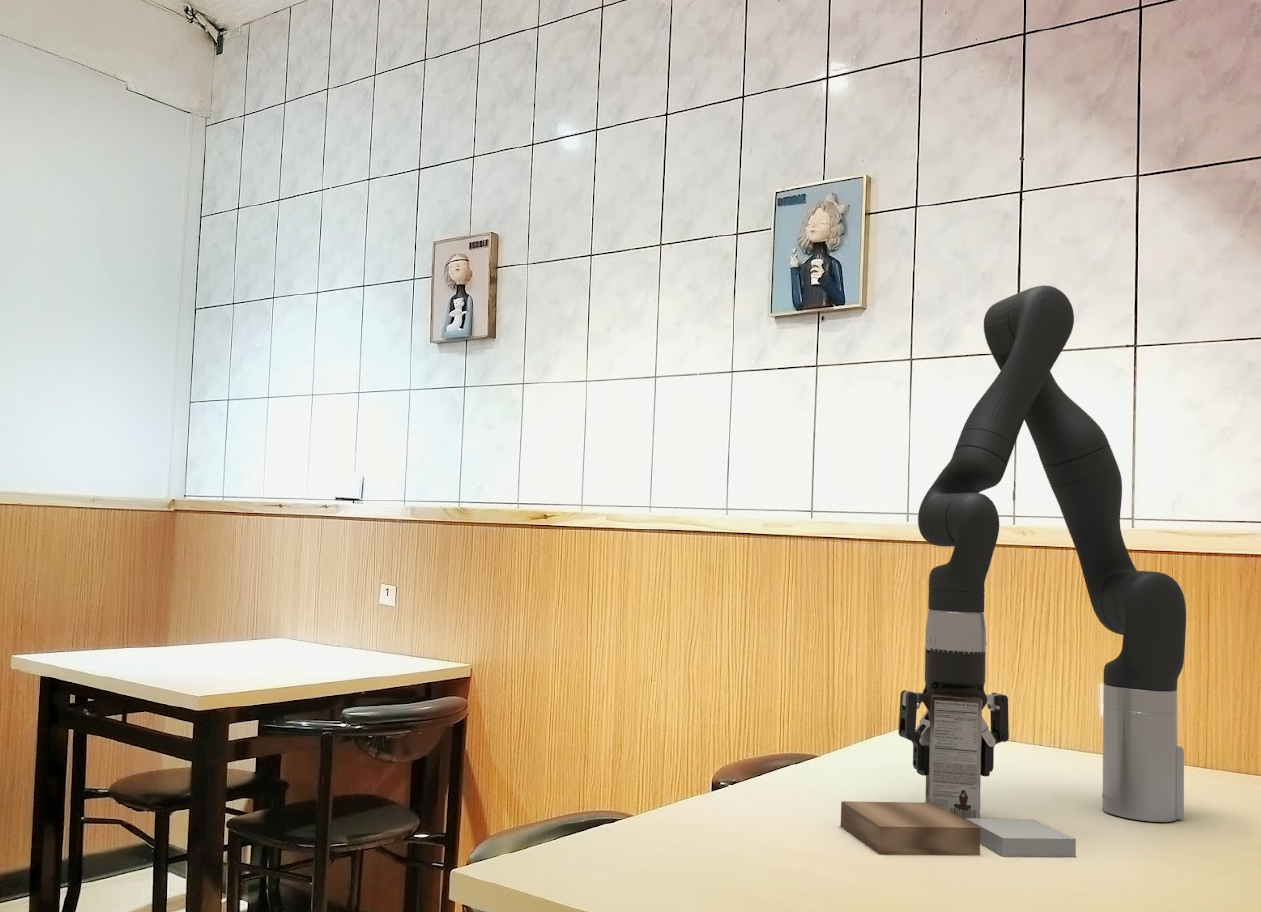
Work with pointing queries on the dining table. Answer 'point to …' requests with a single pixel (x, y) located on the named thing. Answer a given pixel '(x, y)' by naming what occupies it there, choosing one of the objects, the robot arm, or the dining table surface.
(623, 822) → the dining table surface
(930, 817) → the walnut base
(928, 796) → the coffee box
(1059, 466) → the robot arm
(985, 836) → the grey coaster
